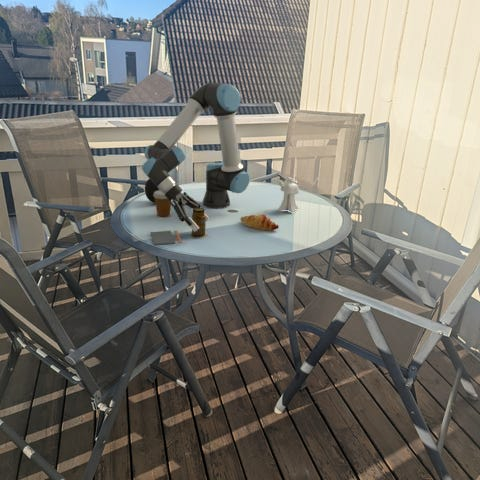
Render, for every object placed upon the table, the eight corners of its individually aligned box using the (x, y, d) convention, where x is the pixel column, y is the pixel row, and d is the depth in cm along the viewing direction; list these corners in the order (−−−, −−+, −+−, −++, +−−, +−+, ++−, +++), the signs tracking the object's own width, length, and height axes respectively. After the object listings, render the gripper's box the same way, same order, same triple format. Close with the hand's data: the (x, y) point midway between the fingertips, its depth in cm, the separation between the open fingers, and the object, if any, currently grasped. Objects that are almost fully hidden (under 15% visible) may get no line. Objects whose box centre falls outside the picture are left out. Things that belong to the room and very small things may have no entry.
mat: (170, 231, 189) (170, 230, 189) (175, 243, 177) (175, 242, 176) (150, 233, 186) (150, 232, 186) (154, 245, 174) (154, 243, 174)
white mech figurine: (285, 215, 217) (287, 182, 210) (273, 208, 228) (275, 176, 221) (304, 213, 222) (307, 180, 215) (291, 206, 233) (294, 174, 226)
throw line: (177, 231, 190) (177, 230, 190) (182, 242, 177) (182, 242, 177) (174, 231, 189) (174, 230, 189) (179, 243, 177) (179, 242, 177)
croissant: (237, 230, 204) (233, 218, 199) (246, 216, 209) (243, 205, 204) (275, 239, 194) (272, 227, 188) (284, 224, 199) (281, 212, 194)
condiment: (203, 230, 192) (203, 206, 188) (209, 237, 185) (210, 211, 181) (188, 232, 189) (188, 207, 184) (194, 239, 182) (194, 213, 177)
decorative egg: (172, 203, 228) (172, 177, 223) (153, 207, 220) (152, 180, 214) (159, 198, 236) (158, 172, 231) (141, 202, 228) (139, 175, 222)
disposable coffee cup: (169, 219, 205) (168, 195, 200) (151, 217, 206) (150, 193, 202) (175, 213, 213) (175, 190, 209) (158, 211, 215) (157, 189, 211)
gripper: (175, 187, 195) (205, 221, 197) (152, 201, 172) (186, 239, 175) (186, 177, 192) (216, 211, 194) (164, 190, 169) (198, 229, 172)
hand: (202, 225), depth 185 cm, fingers open, 13 cm apart
